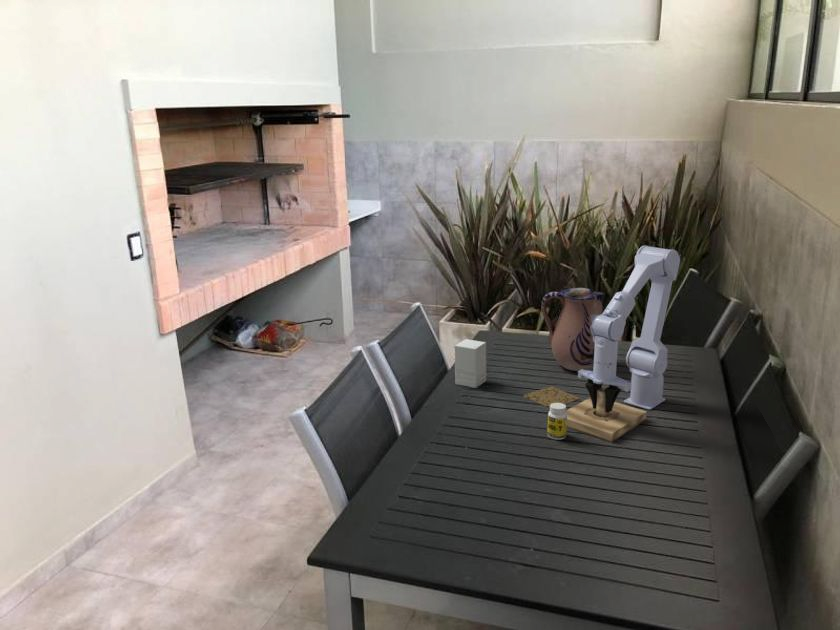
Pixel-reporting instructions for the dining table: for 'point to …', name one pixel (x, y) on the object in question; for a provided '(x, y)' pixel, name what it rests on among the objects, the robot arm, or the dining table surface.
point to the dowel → (601, 403)
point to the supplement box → (470, 363)
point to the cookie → (551, 396)
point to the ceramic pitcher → (574, 327)
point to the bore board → (604, 420)
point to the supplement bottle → (557, 421)
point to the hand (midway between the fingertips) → (602, 409)
